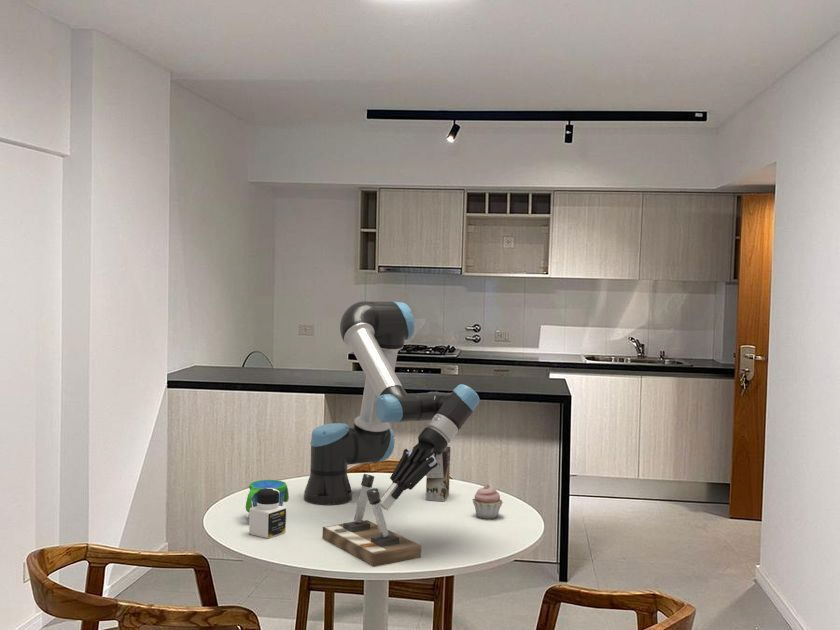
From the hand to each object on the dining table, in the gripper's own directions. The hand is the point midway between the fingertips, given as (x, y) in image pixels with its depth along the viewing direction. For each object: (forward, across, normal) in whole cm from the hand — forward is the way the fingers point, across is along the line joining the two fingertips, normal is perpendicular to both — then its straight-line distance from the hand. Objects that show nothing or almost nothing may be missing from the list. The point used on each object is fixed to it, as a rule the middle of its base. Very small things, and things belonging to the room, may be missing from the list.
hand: (382, 506), depth 215 cm
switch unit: (+8, -7, +10) cm, 14 cm away
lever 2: (+5, 0, +6) cm, 8 cm away
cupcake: (-24, -15, +43) cm, 51 cm away
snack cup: (+17, -44, +1) cm, 47 cm away
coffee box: (-24, -40, +43) cm, 63 cm away
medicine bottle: (+21, -31, -3) cm, 38 cm away
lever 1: (+5, -14, +6) cm, 16 cm away
